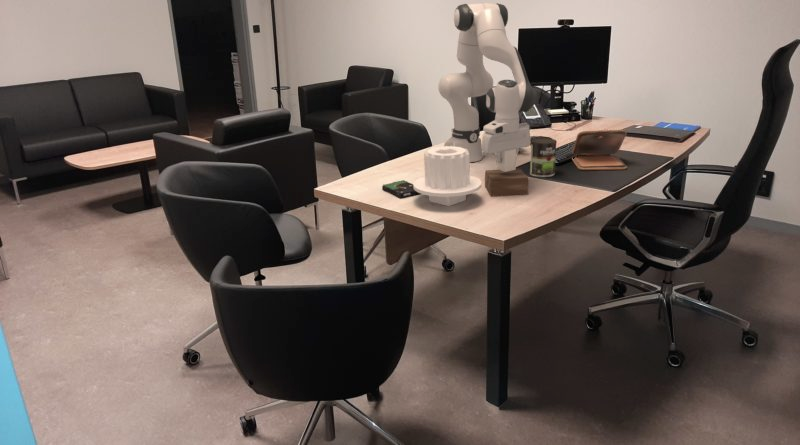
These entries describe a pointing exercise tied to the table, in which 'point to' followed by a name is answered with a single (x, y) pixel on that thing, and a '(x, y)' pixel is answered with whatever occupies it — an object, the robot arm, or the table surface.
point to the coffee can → (543, 157)
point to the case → (599, 150)
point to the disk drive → (400, 189)
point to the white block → (507, 160)
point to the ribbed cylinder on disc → (447, 176)
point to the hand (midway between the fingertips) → (506, 161)
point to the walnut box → (506, 183)
